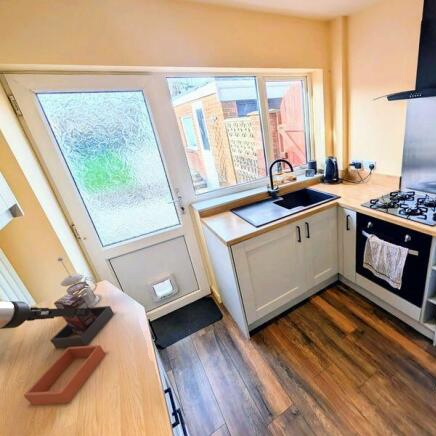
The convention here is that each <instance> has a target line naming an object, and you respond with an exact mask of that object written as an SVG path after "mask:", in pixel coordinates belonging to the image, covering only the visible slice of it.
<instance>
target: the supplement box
mask: <svg viewBox="0 0 436 436" xmlns="http://www.w3.org/2000/svg"><path fill="white" fill-rule="evenodd" d="M53 305H54V306H55V308H56V309H61V308H89V307H88V305H87V304H86V302H85V300H84V298H83V297H80V296H78V297H77V296H70V295H68V294H64V295H63V296H62V297H60V298H59V299H57V300H55V301H54V302H53ZM62 318H63V319H64V321H65V323H66V324H68V325H69V327H70V328H71V330H72V331H73V334H77V335H82V334H83V333H84V332H85V331H86V330H87V328H88V327H89V326H90V325H91V324H92V323H93V322H94V321H95V320H96V319H97V318H96V317H94V315H93V314H92V312H91V310H90V312H89V316H76V317H74V318H72V317H70V316H64V317H62Z"/></svg>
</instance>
